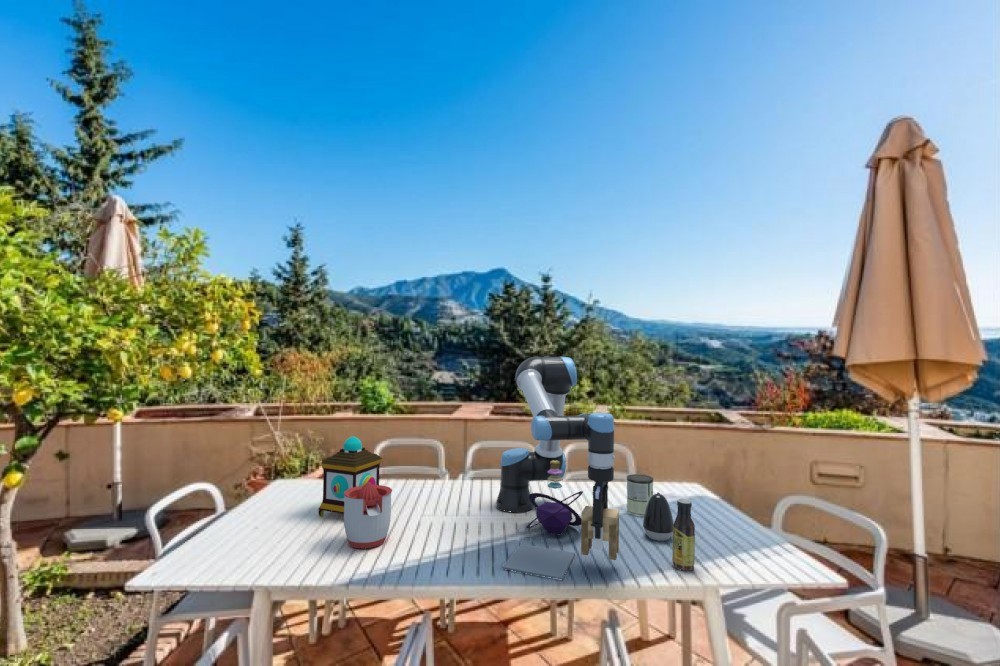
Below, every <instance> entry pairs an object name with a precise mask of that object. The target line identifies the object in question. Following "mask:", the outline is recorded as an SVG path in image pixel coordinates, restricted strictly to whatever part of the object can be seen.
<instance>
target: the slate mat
mask: <svg viewBox="0 0 1000 666" xmlns="http://www.w3.org/2000/svg"><path fill="white" fill-rule="evenodd" d="M575 557H576V552H572V551H567V550H560V549H554V548H549V547H548V548H547V547H540V546H536V545H530V544H523V543H520V544H519V546H518V547H517V548H516V549H515V551H514V552H513V553H512V554H511V556H510V557H509V558H508V559H507V560H506V562H505V563H504V564H503V565H502V566H501V569H502V568H503V569H507V570H513V571H516V572H515V573H517V572H521V573H520V574H522V573H527V574H526V575H528V574H532V575H531V576H533V575H539V576H545V577H551V578H558V579H563V580H564V578H565V576H566V574H567V572H568V570H569V569H568V568H570V567H571V565H572V562H573V560H575ZM570 564H571V565H570ZM569 566H570V567H569ZM566 571H567V572H566ZM565 573H566V574H565ZM564 575H565V576H564ZM539 576H538V577H539ZM563 577H564V578H563Z"/></svg>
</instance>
